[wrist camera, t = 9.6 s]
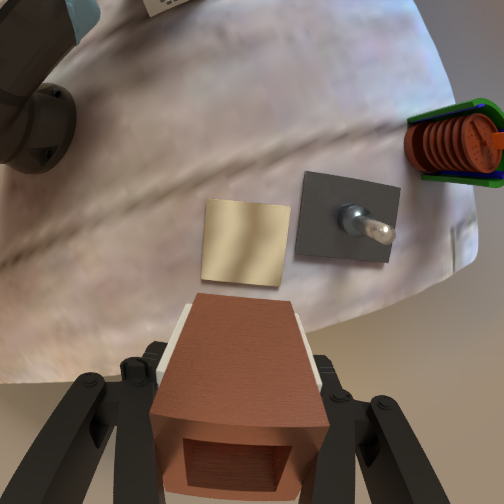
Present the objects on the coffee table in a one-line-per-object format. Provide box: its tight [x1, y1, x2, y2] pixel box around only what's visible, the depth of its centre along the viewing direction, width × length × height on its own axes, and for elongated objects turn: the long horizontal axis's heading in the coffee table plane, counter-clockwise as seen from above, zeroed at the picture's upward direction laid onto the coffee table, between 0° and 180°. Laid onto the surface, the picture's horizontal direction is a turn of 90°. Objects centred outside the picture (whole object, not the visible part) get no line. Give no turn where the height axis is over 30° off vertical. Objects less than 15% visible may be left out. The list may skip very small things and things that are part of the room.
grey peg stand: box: [295, 171, 401, 263], centre depth 33 cm, size 14×11×12 cm
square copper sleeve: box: [149, 293, 330, 501], centre depth 12 cm, size 5×5×9 cm
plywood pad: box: [201, 199, 291, 287], centre depth 40 cm, size 11×11×1 cm
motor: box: [404, 98, 504, 188], centre depth 27 cm, size 10×9×20 cm
